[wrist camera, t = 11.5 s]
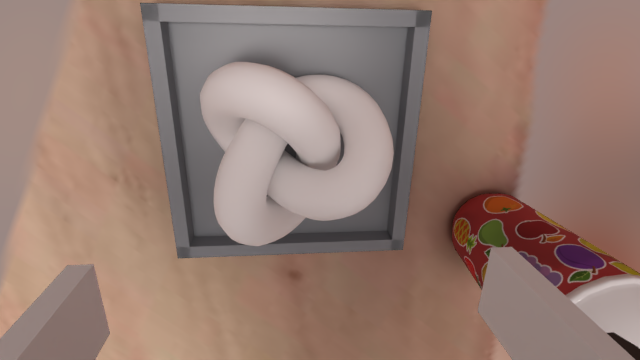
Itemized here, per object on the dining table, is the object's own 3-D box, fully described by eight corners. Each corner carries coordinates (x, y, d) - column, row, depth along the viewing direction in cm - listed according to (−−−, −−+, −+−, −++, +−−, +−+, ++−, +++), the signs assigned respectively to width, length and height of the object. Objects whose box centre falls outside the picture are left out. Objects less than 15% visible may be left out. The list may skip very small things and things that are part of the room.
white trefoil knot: (339, 222, 31) (360, 294, 23) (191, 192, 29) (155, 259, 20) (384, 88, 27) (430, 116, 19) (218, 41, 25) (186, 48, 16)
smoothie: (486, 273, 36) (704, 535, 17) (418, 238, 33) (587, 497, 15) (545, 204, 33) (871, 422, 15) (477, 162, 31) (760, 357, 13)
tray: (394, 234, 33) (402, 249, 31) (185, 241, 31) (177, 258, 29) (418, 12, 26) (432, 10, 24) (153, 5, 24) (140, 2, 22)
